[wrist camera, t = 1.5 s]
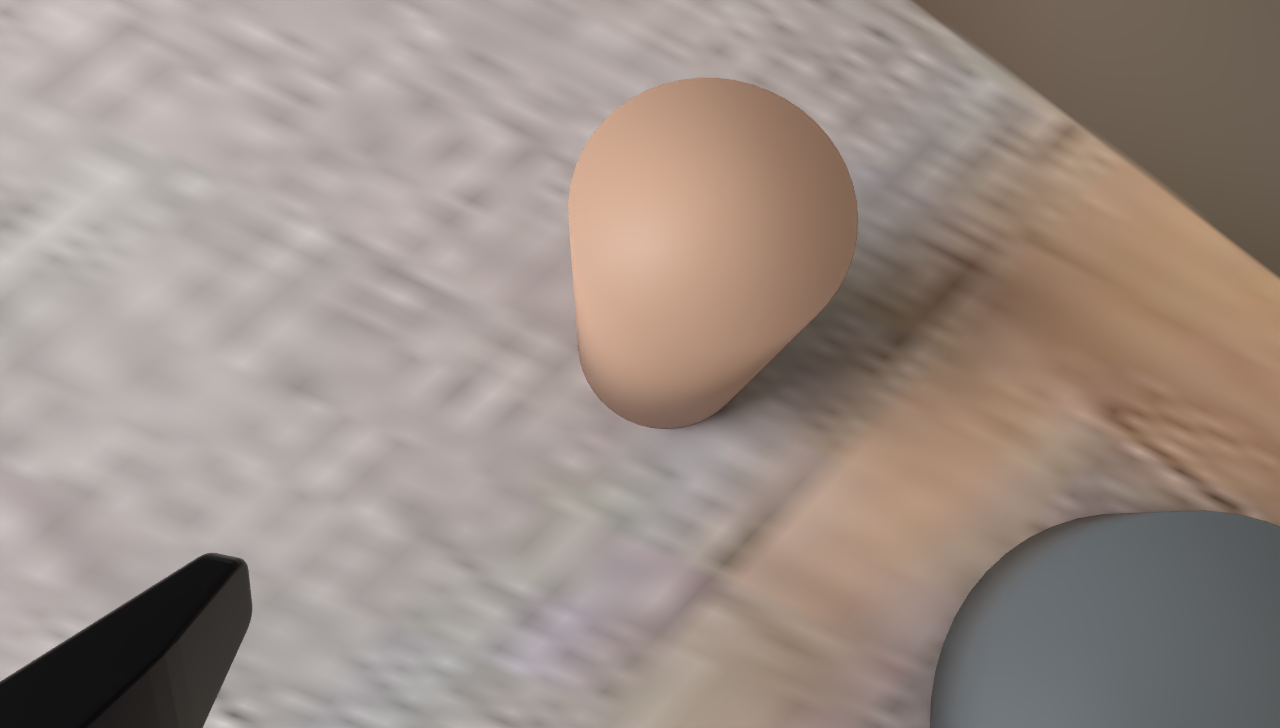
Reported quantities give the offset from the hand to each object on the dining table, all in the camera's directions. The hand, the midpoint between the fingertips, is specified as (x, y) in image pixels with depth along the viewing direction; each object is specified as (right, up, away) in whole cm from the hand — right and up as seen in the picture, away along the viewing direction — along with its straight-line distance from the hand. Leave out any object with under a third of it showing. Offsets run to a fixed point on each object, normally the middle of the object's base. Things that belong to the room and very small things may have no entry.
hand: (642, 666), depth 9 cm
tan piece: (+1, +4, +15) cm, 15 cm away
